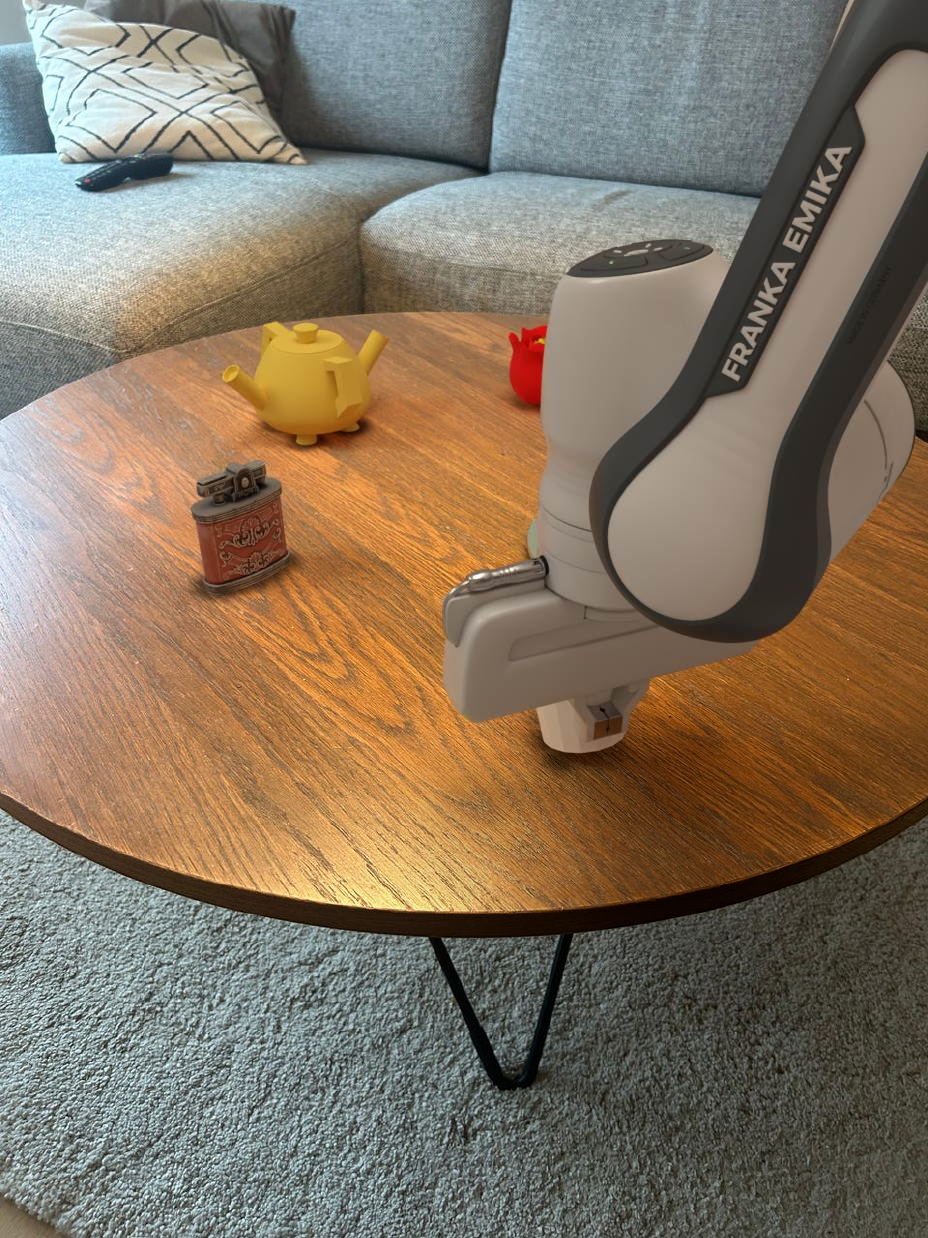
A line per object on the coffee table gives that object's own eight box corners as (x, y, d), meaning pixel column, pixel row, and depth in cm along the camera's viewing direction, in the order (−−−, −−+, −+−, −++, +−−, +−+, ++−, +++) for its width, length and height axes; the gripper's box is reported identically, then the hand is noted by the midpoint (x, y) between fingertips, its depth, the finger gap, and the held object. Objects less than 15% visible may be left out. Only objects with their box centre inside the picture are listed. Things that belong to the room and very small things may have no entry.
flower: (569, 418, 112) (574, 348, 108) (501, 412, 113) (502, 343, 109) (577, 391, 118) (581, 324, 114) (512, 386, 120) (514, 319, 115)
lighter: (275, 549, 89) (262, 445, 83) (298, 563, 87) (286, 458, 81) (196, 584, 84) (176, 476, 78) (218, 600, 82) (200, 490, 76)
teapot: (276, 480, 99) (263, 372, 93) (194, 423, 111) (177, 323, 105) (436, 428, 110) (434, 327, 103) (346, 380, 121) (339, 287, 115)
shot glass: (652, 717, 68) (643, 621, 66) (607, 764, 63) (596, 662, 61) (563, 705, 72) (552, 614, 70) (514, 748, 67) (500, 652, 65)
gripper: (462, 610, 51) (466, 807, 59) (800, 534, 57) (763, 723, 65) (422, 552, 56) (430, 741, 64) (737, 488, 62) (710, 668, 69)
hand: (600, 731), depth 64 cm, fingers closed, pressing on shot glass
